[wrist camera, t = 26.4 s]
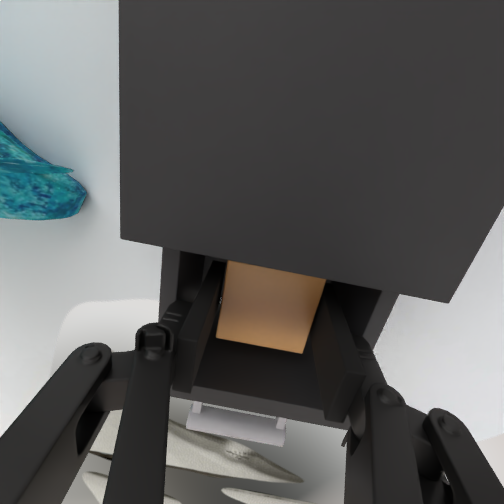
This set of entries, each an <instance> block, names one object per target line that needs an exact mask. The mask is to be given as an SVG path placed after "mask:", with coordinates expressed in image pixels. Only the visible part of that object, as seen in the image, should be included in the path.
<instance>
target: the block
mask: <svg viewBox="0 0 504 504" xmlns="http://www.w3.org/2000/svg"><path fill="white" fill-rule="evenodd" d="M326 280H327V279H322V278H317V277H311V276H306V275H301V274H296V273H291V272H286V271H281V270H276V269H271V268H266V267H261V266H256V265H251V264H246V263H241V262H236V261H230V260H228V262H227V268H226V275H225V281H224V288H223V294H222V301H221V307H220V314H219V320H218V326H217V333H216V338H220V339H225V340H231V341H236V342H241V343H247V344H252V345H257V346H263V347H268V348H274V349H279V350H284V351H290V352H295V353H300V354H302V353H303V350H304V347H305V344H306V341H307V338H308V335H309V332H310V329H311V326H312V323H313V320H314V317H315V313H316V310H317V307H318V304H319V301H320V298H321V295H322V292H323V289H324V286H325V283H326Z"/></svg>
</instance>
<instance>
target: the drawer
mask: <svg viewBox="0 0 504 504" xmlns="http://www.w3.org/2000/svg"><path fill="white" fill-rule="evenodd" d="M213 260H214V261H219V262H224V263H226V266H225V272H224V278H223V284H222V290H221V297H222V294H223V288H224V281H225V275H226V268H227V262H228V260H225V259H220V258H215V257H210V256H205V255H200V254H195V253H190V252H185V251H180V250H175V249H170V248H165V247H163V252H162V269H161V286H160V303H159V320H158V323H159V321H160V319H161V318H162V316H163V314H164V313H165V311H166V309H167V308H168V306H169V305H170V304H171V303H173V302H174V301H176V300H182V301H187V302H192V303H193V302H194V300H195V298H196V296H197V294H198V292H199V290H200V287H201V285H202V283H203V281H204V279H205V277H206V274H207V272H208V270H209V268H210V266H211V264H212V262H213ZM326 283H330V284H333V287H334V290H335V292H336V295H337V298H338V300H339V303H340V305H341V308H342V311H343V313H344V316H345V319H346V321H347V324H348V327H349V329H350V332H351V333H352V334H357V335H362V336H363V337H364V338H365V339H366V341H367V342H368V343H369V344H370V346H371V349H372V351H373V349H374V346H375V344H376V342H377V340H378V338H379V336H380V334H381V332H382V329H383V327H384V325H385V323H386V321H387V319H388V317H389V315H390V312H391V310H392V308H393V306H394V304H395V302H396V300H397V298H398V295H399V294H397V293H392V292H387V291H382V290H377V289H372V288H367V287H362V286H357V285H352V284H347V283H342V282H337V281H332V280H326ZM220 307H221V304H219V305H218V309H217V312H216V315H215V318H214V321H213V324H212V327H211V331H210V334H209V337H208V340H207V343H206V346H205V350H204V353H203V356H202V359H201V362H200V365H199V369H198V372H197V375H196V378H195V381H194V384H193V388H192V391H191V394H189V393H184V392H179V391H174V390H172V386H171V388H170V396H171V397H176V398H182V399H187V400H192V401H194V402H193V404H192V405H191V408H190V411H189V415H188V419H187V424H186V428H187V429H191V430H196V431H202V432H207V433H212V434H217V435H223V436H228V437H234V438H238V439H244V440H249V441H254V442H259V443H265V444H270V445H275V446H280V447H281V446H283V444H284V442H285V434H286V424H285V423H286V420H287V419H292V420H297V421H302V422H307V423H312V424H318V425H323V426H328V427H333V428H339V429H343V430H348V429H349V427H350V426H351V424H350V420H349V416H348V415H347V417H346V419H345V421H344V423H338V422H332V421H327V420H325V418H324V412H323V407H322V401H321V395H320V389H319V384H318V378H317V372H316V367H315V361H314V355H313V350H312V344H311V338H310V332H309V335H308V338H307V341H306V344H305V347H304V350H303V353H302V354H300V353H295V352H290V351H284V350H279V349H274V348H268V347H263V346H257V345H252V344H247V343H241V342H236V341H231V340H225V339H220V338H216V333H217V326H218V320H219V314H220ZM172 385H173V383H172ZM203 403H208V404H213V405H218V406H224V407H229V408H234V409H239V410H245V411H249V412H255V413H260V414H265V415H270V416H276V419H271V418H266V417H260V416H255V415H250V414H245V413H239V412H234V411H229V410H223V409H219V408H214V407H208V406H203V405H202V404H203Z"/></svg>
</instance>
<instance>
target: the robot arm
mask: <svg viewBox="0 0 504 504" xmlns="http://www.w3.org/2000/svg"><path fill="white" fill-rule="evenodd" d="M225 266H226V263H224V262H219V261H214V260H213V262H212V264H211V266H210V268H209V270H208V272H207V274H206V277H205V279H204V281H203V283H202V285H201V287H200V290H199V292H198V294H197V296H196V298H195V300H194V302H193V303H192V302H187V301H182V300H176V301H174V302H173V303H171V304H170V305H169V306H168V308H167V309H166V311H165V313H164V314H163V316H162V318H161V319H160V321H159V323H149V324H146V325H144V326H142V327H141V328H140V329H138V331H137V333H136V338H135V339H136V340H135V341H136V342H135V350H132V351H127V352H113V353H112V352H111V348H110V347H108V346H107V345H106V344H103V343H89V344H85V345H82V346H81V347H78V348H77V349H76V350H74V351H73V352H72V353H71V354H70V355H69V356H68V358H67V359H66V360H65V361H64V362H63V364H62V365H61V366H60V367H59V368H58V370H57V371H56V372H55V373H54V374H53V376H52V377H51V378H50V379H49V380H48V381H47V383H46V384H45V385H44V386H43V387H42V389H41V390H40V391H39V392H38V393H37V395H36V396H35V397H34V398H33V399H32V401H31V402H30V403H29V404H28V405H27V406H26V408H25V409H24V410H23V411H22V412H21V414H20V415H19V416H18V417H17V418H16V420H15V421H14V422H13V423H12V424H11V426H10V427H9V428H8V429H7V430H6V431H5V433H4V434H3V435H2V436H1V437H0V504H61V503H62V501H63V499H64V497H65V495H66V494H67V492H68V490H69V488H70V486H71V484H72V482H73V480H74V479H75V477H76V475H77V473H78V471H79V469H80V467H81V465H82V463H83V462H84V460H85V458H86V456H87V454H88V452H89V450H90V449H91V447H92V445H93V443H94V441H95V439H96V437H97V435H98V433H99V432H100V430H101V428H102V426H103V424H104V422H105V420H106V418H107V417H108V415H109V413H110V411H113V410H121V409H123V411H122V416H121V420H120V425H119V430H118V434H117V439H116V444H115V448H114V453H113V458H112V462H111V467H110V472H109V476H108V481H107V486H106V490H105V495H104V499H103V504H163V502H164V485H165V469H166V452H167V435H168V419H169V402H170V388H171V386H172V390H174V391H179V392H184V393H189V394H191V391H192V388H193V384H194V381H195V378H196V375H197V372H198V369H199V365H200V362H201V359H202V356H203V353H204V350H205V346H206V343H207V340H208V337H209V334H210V331H211V327H212V324H213V321H214V318H215V315H216V312H217V309H218V305H219V302H220V297H221V290H222V284H223V278H224V272H225ZM310 338H311V344H312V350H313V355H314V361H315V367H316V372H317V378H318V384H319V389H320V395H321V401H322V407H323V412H324V418H325V420H327V421H332V422H338V423H344V421H345V419H346V417H347V415H348V416H349V420H350V424H351V426H350V427H349V429H348V432H347V433H346V435H345V437H344V439H343V442H342V445H341V446H343V447H344V446H345V444H346V442H347V451H346V452H347V453H346V473H345V493H344V495H345V496H344V504H504V488H503V486H502V484H501V483H500V481H499V479H498V478H497V476H496V474H495V473H494V471H493V469H492V468H491V466H490V465H489V463H488V461H487V460H486V458H485V456H484V455H483V453H482V451H481V450H480V448H479V446H478V445H477V443H476V442H475V440H474V438H473V437H472V435H471V433H470V432H469V430H468V429H467V427H466V426H465V425H464V424H463V422H462V421H460V420H459V419H458V418H457V417H456V416H455V415H453V414H451V413H450V412H448V411H446V410H443V409H440V408H433V409H432V410H430V411H429V413H428V414H425V413H423V412H421V411H418V410H416V409H414V408H412V407H410V406H408V405H406V403H405V401H404V398H403V397H402V396H401V395H400V393H399V392H397V391H396V390H395V389H394V388H392V387H391V386H389V385H387V382H386V380H385V378H384V376H383V373H382V371H381V369H380V367H379V364H378V362H377V361H376V358H375V355H374V354H373V351H372V349H371V346H370V344H369V343H368V342H367V341H366V339H365V338H364V337H363V336H362V335H357V334H352V333H351V332H350V329H349V327H348V324H347V321H346V319H345V316H344V313H343V311H342V308H341V305H340V303H339V300H338V298H337V295H336V292H335V290H334V287H333V284H330V283H325V286H324V289H323V292H322V295H321V298H320V301H319V304H318V307H317V310H316V313H315V317H314V320H313V323H312V326H311V329H310ZM172 383H173V385H172ZM445 475H446V477H447V479H448V481H449V482H448V481H447V479H446V477H445Z"/></svg>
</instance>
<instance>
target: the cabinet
mask: <svg viewBox="0 0 504 504" xmlns="http://www.w3.org/2000/svg"><path fill="white" fill-rule="evenodd" d="M119 103H120V238H121V239H124V240H129V241H134V242H139V243H144V244H150V245H155V246H160V247H165V248H170V249H175V250H180V251H185V252H190V253H195V254H200V255H205V256H210V257H215V258H220V259H225V260H230V261H236V262H241V263H246V264H251V265H256V266H261V267H266V268H271V269H276V270H281V271H286V272H291V273H296V274H301V275H306V276H311V277H317V278H322V279H327V280H332V281H337V282H342V283H347V284H352V285H357V286H362V287H367V288H372V289H377V290H382V291H387V292H392V293H397V294H403V295H408V296H413V297H418V298H423V299H428V300H433V301H438V302H443V303H449V302H450V300H451V299H452V297H453V295H454V293H455V291H456V290H457V288H458V286H459V284H460V283H461V281H462V279H463V277H464V276H465V274H466V272H467V270H468V268H469V267H470V265H471V263H472V261H473V260H474V258H475V256H476V254H477V252H478V251H479V249H480V247H481V245H482V244H483V242H484V240H485V238H486V237H487V235H488V233H489V231H490V229H491V228H492V226H493V224H494V222H495V221H496V219H497V217H498V215H499V214H500V212H501V210H502V208H503V206H504V0H119Z"/></svg>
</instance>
